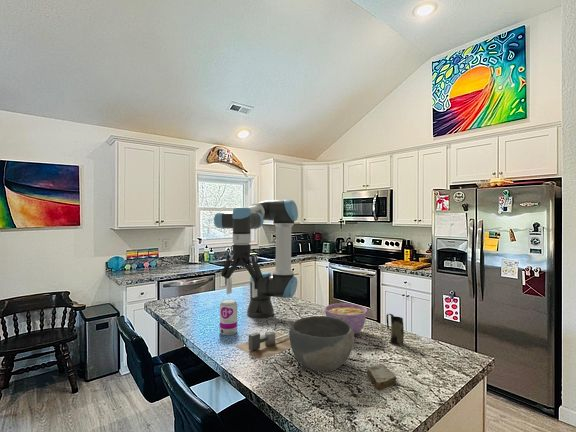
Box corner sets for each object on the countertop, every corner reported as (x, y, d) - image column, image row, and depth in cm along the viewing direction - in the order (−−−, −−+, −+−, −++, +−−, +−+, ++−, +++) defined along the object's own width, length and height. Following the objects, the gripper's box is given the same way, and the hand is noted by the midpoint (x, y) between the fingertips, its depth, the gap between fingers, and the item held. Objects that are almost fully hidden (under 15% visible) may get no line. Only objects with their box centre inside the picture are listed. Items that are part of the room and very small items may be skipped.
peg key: (285, 335, 149) (285, 322, 149) (291, 338, 146) (291, 324, 146) (247, 349, 135) (247, 333, 135) (253, 352, 131) (253, 336, 131)
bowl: (338, 389, 107) (338, 342, 107) (276, 370, 120) (276, 328, 120) (364, 360, 127) (364, 321, 127) (308, 347, 140) (308, 311, 140)
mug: (406, 344, 144) (406, 316, 144) (398, 347, 141) (398, 318, 141) (391, 338, 150) (391, 312, 150) (383, 341, 147) (383, 314, 147)
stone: (363, 370, 120) (363, 361, 120) (385, 369, 121) (385, 361, 121) (376, 392, 105) (376, 382, 105) (402, 391, 106) (402, 381, 106)
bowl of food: (371, 329, 162) (371, 306, 162) (362, 344, 144) (362, 317, 144) (331, 323, 170) (331, 301, 170) (318, 336, 152) (318, 311, 152)
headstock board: (274, 333, 157) (274, 330, 156) (305, 345, 142) (305, 342, 142) (231, 347, 140) (231, 344, 140) (261, 362, 125) (261, 358, 125)
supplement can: (233, 336, 153) (233, 304, 153) (217, 335, 155) (217, 303, 155) (239, 330, 161) (239, 299, 161) (223, 329, 163) (223, 298, 162)
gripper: (212, 243, 141) (212, 293, 141) (262, 245, 130) (261, 300, 130) (223, 242, 147) (223, 290, 147) (271, 244, 136) (271, 296, 136)
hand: (241, 295), depth 139 cm, fingers open, 12 cm apart
